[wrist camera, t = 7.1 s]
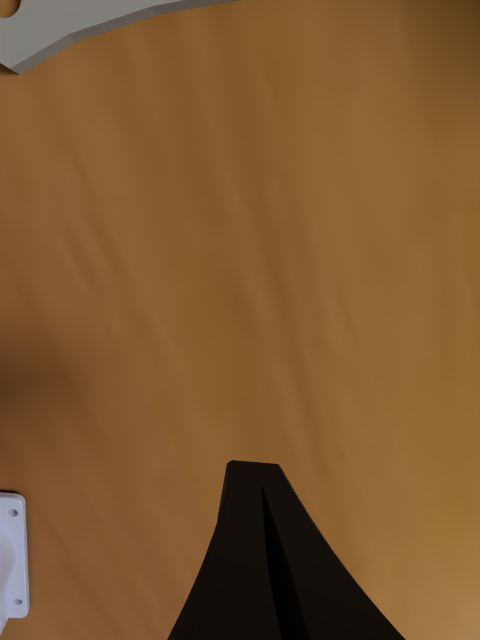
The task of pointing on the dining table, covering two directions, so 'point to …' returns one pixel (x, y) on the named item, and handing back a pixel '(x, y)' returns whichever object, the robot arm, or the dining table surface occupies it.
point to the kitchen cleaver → (72, 24)
